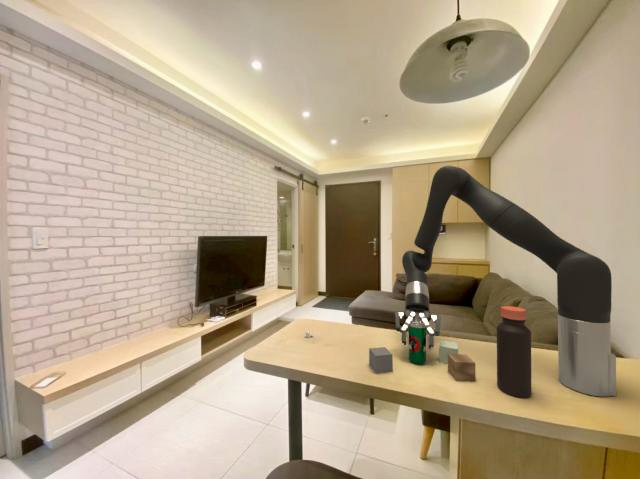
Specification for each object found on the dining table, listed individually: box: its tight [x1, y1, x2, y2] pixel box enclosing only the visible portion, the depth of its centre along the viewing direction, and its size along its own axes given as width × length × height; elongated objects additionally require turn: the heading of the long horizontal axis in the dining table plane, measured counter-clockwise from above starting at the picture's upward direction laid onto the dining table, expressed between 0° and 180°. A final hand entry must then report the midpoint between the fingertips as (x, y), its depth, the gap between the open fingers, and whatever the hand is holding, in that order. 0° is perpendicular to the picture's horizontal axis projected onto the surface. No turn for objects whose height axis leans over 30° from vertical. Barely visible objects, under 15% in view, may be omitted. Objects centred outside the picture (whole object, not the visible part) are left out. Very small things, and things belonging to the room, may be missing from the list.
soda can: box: [408, 320, 427, 366], centre depth 78 cm, size 5×5×12 cm
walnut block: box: [447, 353, 477, 383], centre depth 70 cm, size 5×5×5 cm
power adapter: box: [304, 329, 314, 338], centre depth 98 cm, size 3×3×3 cm
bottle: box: [496, 305, 533, 399], centre depth 63 cm, size 7×7×20 cm
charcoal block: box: [368, 346, 394, 374], centre depth 74 cm, size 5×5×5 cm
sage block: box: [438, 339, 459, 365], centre depth 79 cm, size 5×5×5 cm
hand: (417, 345), depth 77 cm, fingers open, 6 cm apart
